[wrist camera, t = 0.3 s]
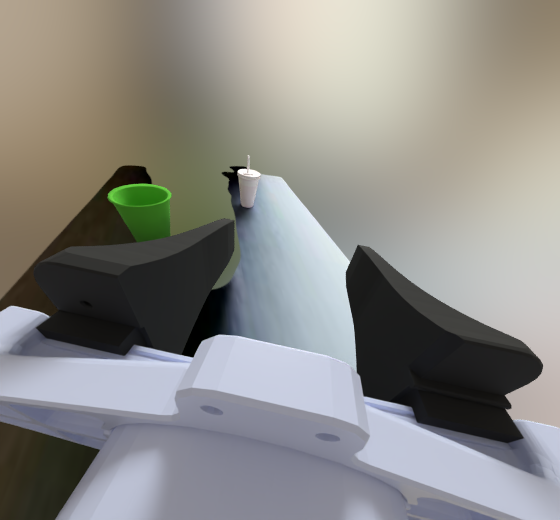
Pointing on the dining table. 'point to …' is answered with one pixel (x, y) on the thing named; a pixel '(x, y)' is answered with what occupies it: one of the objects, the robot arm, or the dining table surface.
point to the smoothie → (248, 185)
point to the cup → (143, 210)
